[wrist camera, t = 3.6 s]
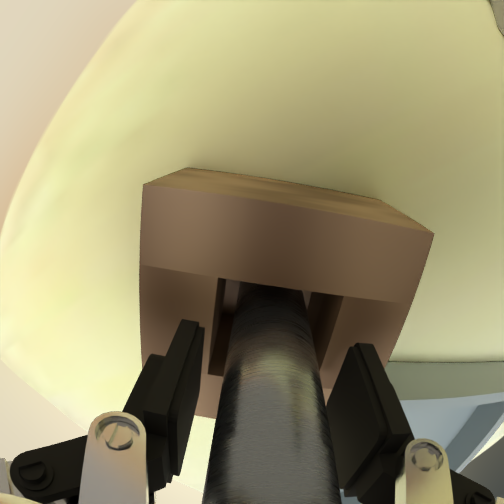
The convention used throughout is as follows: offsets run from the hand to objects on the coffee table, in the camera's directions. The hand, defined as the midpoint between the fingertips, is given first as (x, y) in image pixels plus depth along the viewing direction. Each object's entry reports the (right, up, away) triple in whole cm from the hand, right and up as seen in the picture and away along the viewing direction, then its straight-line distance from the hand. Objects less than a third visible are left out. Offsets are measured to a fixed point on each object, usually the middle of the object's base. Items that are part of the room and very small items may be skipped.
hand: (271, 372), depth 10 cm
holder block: (0, +3, +7) cm, 8 cm away
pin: (0, +2, +7) cm, 7 cm away
